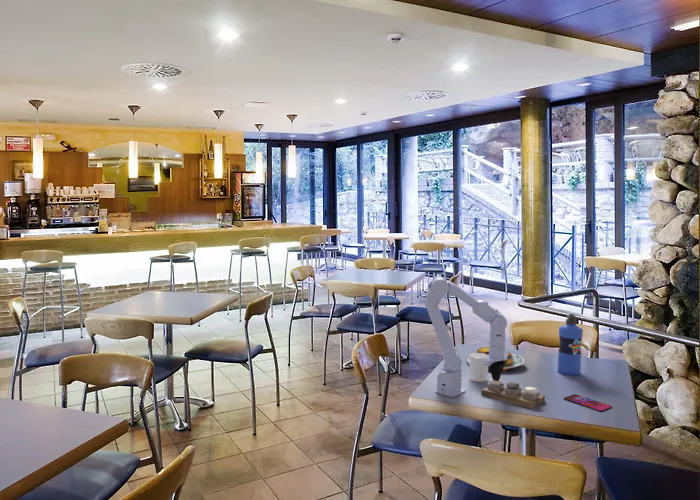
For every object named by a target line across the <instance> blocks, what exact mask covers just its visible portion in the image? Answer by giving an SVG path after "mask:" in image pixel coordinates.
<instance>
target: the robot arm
mask: <svg viewBox="0 0 700 500" xmlns="http://www.w3.org/2000/svg"><path fill="white" fill-rule="evenodd" d="M446 295H447V296H448V297H456V298H457V299H459V300H460V301H462V302H463V303H465V304H466V305H468V306H469V307H471V308H472V313H473V314H474V315H476V317H478V318H479V319H481V320H483V321H484V322H485V323H489V325H490V326H489V338H488V339H489V341H488V347H489V356H488V357H487V359H486V360H485V365H487V366H489V368H490V369H489V371H490V373H491V374H490V375H491V378H492V379H493V380H495V381H499V379H501V377H502V373H503V371H504V370H503V368H504V366H505V364H506V362H505V361H506V360H507V358H508V353H509V352H508V353H505V352H506V351H505V350H506V328H507V327H508V321H507V318H506V317H505V316H504V314H502V313H501V312H500V311H499V310H498V309H497V308H496V309H495V308H494V307H492V306H491V305H489V301H486V300H483V299H481V300H477V299H475V298H474V297H473V296H471V295H470V294H468V293H467V292H466V291H465V290H464V289H462V288H461V287H460V286H458V285H457V284H456V283H454V282H452V281H451V280H447V279H446V278H445V277H444V276H440V275H439V276H438V275H437V276H435V277H433V278H432V279H431V281H430V282H429V284H428V287H427V292H426V296H425V300H424V304H425V308H426V310H427V313H428V316H429V318H430V321H431V323H432V326H433V330H434V331H435V334H436V337H437V339H438V342H439V345H440V347H441V350H442V353H443V355H442V359H443V360H444V363H443V365H442V370H440V371H441V372H440V373H438V374H437V378H436V379H437V380H436V381H437V382H436V390H435V391H434V393H436V394H440V395H443V396H446V397H450V398H455V397H456V396H459V395H462V394H463V393H464V392H467V390H466V389H464V388H462V377H463V375H462V372H463V371H462V370H463V367H462V365H463V362H462V361H463V360H462V358H461V356H460V352H459V351H458V350H457V349H456V348H455V346H454V344H453V341H452V338H451V336H450V333H449V331H448V329H447V326H446V323H445V320H444V318H443V315H442V312H441V309H440V306H439V304H440V302H441V300H442V299H443V298H444V297H445V296H446ZM502 360H504V361H502Z"/></svg>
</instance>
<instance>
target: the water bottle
mask: <svg viewBox="0 0 700 500" xmlns="http://www.w3.org/2000/svg"><path fill="white" fill-rule="evenodd" d="M577 323H578V321H577V317H576V315H575V314H573V313H569V314H568V315H567V316H566V319H565V324H564V325H561V326H559V327H558V338H559V348H558V352H557V353H558V354H557V373H558V374H561V375H564V376H567V377H568V376H569V377H575V376H576V377H577V376H580V375H581V368H582V367H581V365H582V349H581V348H582V347H581V345H582V341H583V337H584V336H583V333H584V329H583V328H582V327H580V326H578V325H577Z"/></svg>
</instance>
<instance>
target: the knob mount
mask: <svg viewBox="0 0 700 500" xmlns="http://www.w3.org/2000/svg"><path fill="white" fill-rule="evenodd" d="M481 395H482V396H485V397H488V398H492V399H495V398H496V400H499V401H502V400H503V401H502V402H507V403H511V404H513V405H517V406H521V407H525V408H529V409H534V408H536V407H537V406H539V405H541V404H542V403H544V402H545V399H546V396H545V395H543V394H540V392H539V391H538V393H537V394H528V393H525V390H522V387H520V383H518V382H516V381H508V382H506V385H505V383H504V382H502V384H501V385H493V384H490V381H489V382H487V386H486V387H484V388H482V389H481Z"/></svg>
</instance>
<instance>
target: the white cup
mask: <svg viewBox="0 0 700 500" xmlns="http://www.w3.org/2000/svg"><path fill="white" fill-rule="evenodd" d="M488 356H489V355H487V354H484V353H477V352H472V353H469V356H468V358H469V363H468V365H469V367H468V368H469V380H471V381H473V382H476V383H485V382H486V381H488V375H489V373H488V372H489V369H488V366H487V365H485V360H486V359H487V357H488Z"/></svg>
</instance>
